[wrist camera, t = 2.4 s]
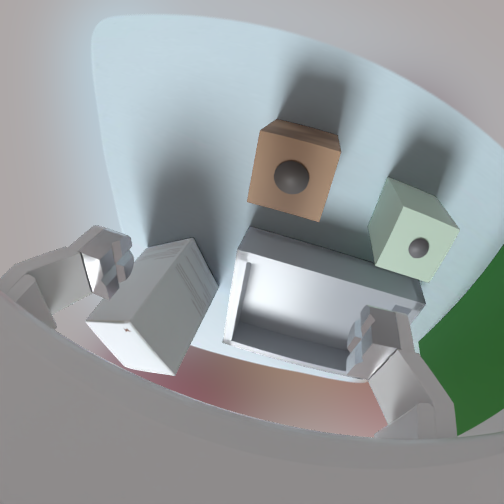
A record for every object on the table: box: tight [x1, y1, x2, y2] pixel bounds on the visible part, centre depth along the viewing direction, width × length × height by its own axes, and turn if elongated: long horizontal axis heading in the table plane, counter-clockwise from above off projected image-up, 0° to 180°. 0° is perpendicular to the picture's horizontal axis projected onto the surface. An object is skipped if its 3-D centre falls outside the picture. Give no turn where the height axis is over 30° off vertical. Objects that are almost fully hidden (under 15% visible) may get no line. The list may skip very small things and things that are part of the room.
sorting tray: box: [222, 226, 426, 379], centre depth 28 cm, size 18×14×4 cm
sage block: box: [368, 177, 460, 283], centre depth 19 cm, size 5×5×6 cm
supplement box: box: [86, 238, 219, 376], centre depth 27 cm, size 7×7×13 cm
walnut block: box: [247, 119, 341, 222], centre depth 19 cm, size 5×5×6 cm
